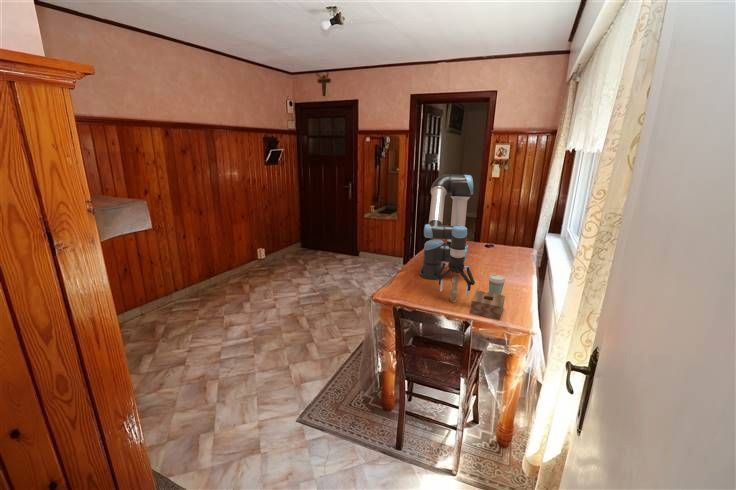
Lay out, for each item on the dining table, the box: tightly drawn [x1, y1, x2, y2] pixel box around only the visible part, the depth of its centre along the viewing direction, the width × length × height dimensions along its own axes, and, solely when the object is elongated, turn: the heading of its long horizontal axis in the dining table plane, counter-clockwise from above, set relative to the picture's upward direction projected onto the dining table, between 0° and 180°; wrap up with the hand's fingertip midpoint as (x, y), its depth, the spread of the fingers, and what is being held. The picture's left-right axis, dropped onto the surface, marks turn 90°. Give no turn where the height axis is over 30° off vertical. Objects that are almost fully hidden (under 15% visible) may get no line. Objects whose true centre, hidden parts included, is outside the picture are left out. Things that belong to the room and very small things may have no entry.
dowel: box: [449, 275, 459, 303], centre depth 179 cm, size 3×3×14 cm
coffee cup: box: [488, 274, 506, 295], centre depth 185 cm, size 8×9×12 cm
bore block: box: [469, 290, 506, 321], centre depth 170 cm, size 14×14×7 cm
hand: (453, 293), depth 179 cm, fingers open, 13 cm apart
